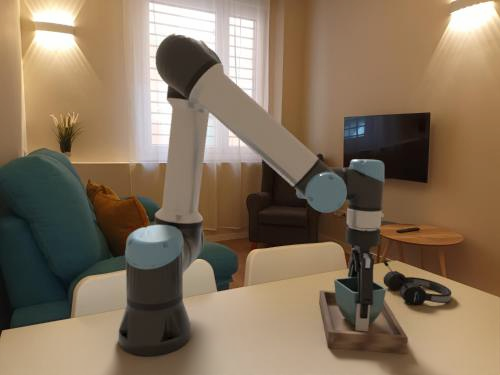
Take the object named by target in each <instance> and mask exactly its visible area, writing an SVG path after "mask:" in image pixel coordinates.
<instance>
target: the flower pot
mask: <svg viewBox="0 0 500 375" xmlns="http://www.w3.org/2000/svg"><path fill="white" fill-rule="evenodd" d="M333 283H334V291H335V296H336V302H337V305H338V308H339V310H340V312H341V314H342V315H343V317H344V318H346V319H347V320H348V321H349V322H350V323H352V324H353V325H355V323H356V309H357V304H356V303H355V301H356V300H358V277H351V278H350V277H343V278H341V277H340V278H333ZM386 292H387V288H385V287H384V286H382V285H380V284H378V283H377V282H376V281H374V280H373V305H370V312H369V323H373V322H374V321H375V319H376V318H377V317H378V316H379V314H380V312H381V310H382V307H383V302H384V300H385V296H386Z"/></svg>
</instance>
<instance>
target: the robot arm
mask: <svg viewBox="0 0 500 375" xmlns="http://www.w3.org/2000/svg"><path fill="white" fill-rule="evenodd" d="M155 66H156V70H157V74H158V75H159V77H160V79H161V80H162V81H163V82H164V83H165V84H166V85H167V90H166V91H167V93H166V101H167V102H168V104H170V107H171V108H172V109H171V110H172V111H171V120H170V128H169V138H168V148H167V159H166V168H165V176H164V187H163V189H164V190H163V196H162V207H161V208H160V209H159V210H158V211H156V212H155V214H154V222H153V224H151V225H147V226H146V227H141V228H137V229H135V230H134V231H132V232H131V233H130V234H129V235H128V236H127V238H126V243H125V250H124V258H125V277H126V278H125V280H126V282H125V283H126V284H125V286H126V288H125V289H126V307H125V310H124V312H123V316H122V319H121V321H120V325H119V328H118V344H119V346H120V347H121V350H123V351H125V352H126V353H129V354H132V355H136V356H145V357H148V356H149V357H150V356H154V357H155V356H159V355H165V354H168V353H172V352H174V351H176V350H179V349H180V348H182V347H184V346H185V345H186V344H187V343H188V342H189V340H190V338H191V334H192V332H191V329H192V327H191V326H192V323H191V320H190V317H189V314H188V313H187V312H188V311H187V309H186V306H185V304H184V300H183V298H184V296H183V295H184V291H183V290H184V288H183V286H184V273H185V272H186V270H187V269H188V268H189V267H190V266H191V265H192V264H193V263H194V262H195V261H197V259H198V258H199V257H200V255H201V253H202V251H203V249H204V246H205V234H204V230H203V221H204V217H203V216H202V215H201V213H200V212H199V202H200V196H201V195H200V194H201V187H202V177H203V168H204V159H205V150H206V142H207V141H206V140H207V135H208V134H207V133H208V125H209V117H210V114H211V115H212V116H213V117H214V118H215V119H217V120H218V121H219V122H220V123H221V124H222V125H224V127H225V128H226V129H228V130H229V131H230V132H231V133H232V134H233V135H234V136H236V137H237V138H238V140H240V141H241V142H242V143H243V144H244V145H246V146H247V147H248V148H249V149H250V150H251V151H252V152H254V154H256V156H258V157H259V158H260V159H261V160H263V161H264V162H265V163H266V164H267V165H268V166H269V167H270V168H271V169H272V170H273V171H275V172H276V173H277V174H278V175H279V176H281V178H282V179H284V180H285V181H286V182H287V183H288V184H289V185H290V186H291V187H292V188H294V189H295V190H296V192H295V195H296V197H297V198H298V199H303V200H304V199H305V200H306V201H307V203H308V205H309V206H310V207H311V208H313V209H314V210H315V211H318V212H320V213H323V214H328V213H334V212H335V211H338V210H339V209H340V208H342V206H343V205H344V203H345V201H347V208H346V209H347V210H346V225H347V227H345V230H346V231H345V241H346V243H347V244H349V245H350V257H349V264H348V274H347V278H351V277H358V300H356V301H355V303H356V304H357V309H356V323H355V330H356V331H368V326H369V312H370V305H373V281H374V267H375V265H374V264H375V260H374V258H373V254H372V253H371V248H375V247H379V245H380V242H381V229H380V227H382V226H381V225H382V218H384V217H385V214H384V213H383V212H382V211H383V210H382V209H383V199H384V188H385V182H386V181H385V163H384V161H382V160H378V159H370V158H369V159H368V158H367V159H363V158H362V159H359V158H358V159H356V158H354V159H351V160H350V162H349V163H350V164H349V167H330V166H328V165H327V164H326V163H325V162H324V161H322V160H321V159H320V158H319V157H318V156H317V155H315V153H314V152H312V151H311V150H310V149H309V148H308V147H307V146H305V145H304V144H303V143H302V141H300V140H299V139H298V138H297V137H296V136H295V135H294V134H292V133H291V132H290V131H289V130H288V129H287V128H285V127H284V125H282V124H281V123H280V122H279V121H278V120H277V119H276V118H274V116H272V115H271V114H270V113H269V112H268V111H267V110H266V109H264V107H262V106H261V105H260V104H259V103H258V102H257V101H255V100H254V99H253V97H251V96H250V95H249V94H248V93H247V92H246V91H244V90H243V89H242V88H241V87H240V86H239V85H237V83H235V82H234V80H232V79H231V78H230V77H229V76H228V75H227V74H226V73H225V70H224V65H223V64H222V61H221V59H220V57H219V56H218V54H217V53H216V52H215V51H214V50H213V49H212V48H210V47H209V46H208V45H207V44H206V43H205V42H204V41H203V40H202V39H201V38H200V37H199V36H197V35H196V34H192V33H191V32H185V31H182V32H180V31H179V32H174V33H171V34H170V35H168V36H166V37H165V38H164V39H163V40H162V41H161V42H160V43H159V46H158V47H157V50H156V52H155Z"/></svg>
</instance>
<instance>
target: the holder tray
mask: <svg viewBox="0 0 500 375" xmlns="http://www.w3.org/2000/svg"><path fill="white" fill-rule="evenodd" d="M318 296H319V299H318V301H319V302H318V305H319V311H320V315H321V319H322V325H323V330H324V334H325V340H326V346H327V348H329V349H340V350H353V351H366V352H367V351H368V352H377V353H378V352H379V353H388V354H389V353H391V354H403V355H404V354H405V355H406V354H407V352H408V342H409V337H408V336H407V334H406V332H405V331H404V330H403V327H402V326H401V324H400V322H399V321H398V319H397V318H396V316H395V315H394V312H393V311H392V309H391V308H390V306H389V305H388V303H387V302H386V300H385V299H384V302H383V307H382V310H381V312H380V314H379V316H378V317H377V318H376V319H375V321H374V322H373V323H369V326H368V331H356V330H355V325H353V324H352V323H350V322H349V321H348V320H347V319H346V318H344V317H343V315H342V314H341V312H340V310H339V308H338V305H337V302H336V296H335V290H321V289H320V290H319V295H318Z"/></svg>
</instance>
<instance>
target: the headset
mask: <svg viewBox="0 0 500 375" xmlns="http://www.w3.org/2000/svg"><path fill="white" fill-rule="evenodd" d="M382 263H383V264H384V266H385V267H387V268H388V269H389V270H390V271H388V272H387V273H386V274H385V275H384V276H383V284H384V285H385V286H386V287H387V288H388V289H390V291H393V292H394V291H395V292H399V294H400V297H401V299H402V300H404V302H406V303H407V304H408V305H412V306H421V305H422V304H424V303H425V302H431V303H437V304H448V303H450V301H451V296H452V293H453V292H452V291H451V289H450V288H449V287H447V286H446V285H443V284H442V283H439V282H436V281H433V280H430V279H426V278H421V277H415V276H414V277H413V276H405V274H403V273H401V272H399V271H397V270H392V269H391V268H390V266H389V263H388V261H387V260H383V262H382ZM424 288H426V289H428V290H431V291H434V292H437V293H438V294H437V293H430V292H429V293H428V292H427V291H426V290H425V289H424Z"/></svg>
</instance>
